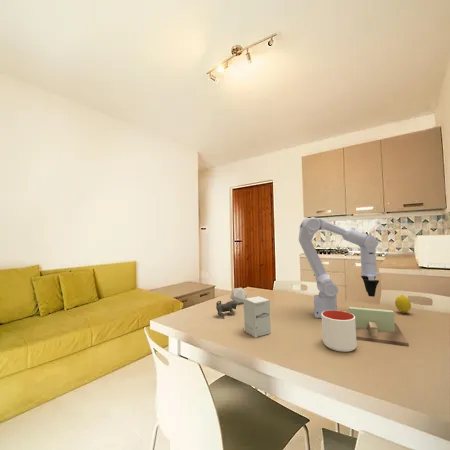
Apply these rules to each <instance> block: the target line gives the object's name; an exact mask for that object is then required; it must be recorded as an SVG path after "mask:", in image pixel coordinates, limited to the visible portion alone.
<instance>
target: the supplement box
mask: <svg viewBox="0 0 450 450" xmlns="http://www.w3.org/2000/svg"><path fill="white" fill-rule="evenodd" d="M270 305H271V303H270V299H268V298H265V297H262V296H259V295H258V296H253V297H246V299H244V303H243V319H244V325H243V326H244V332H245V331H246V332H245V333H247V332H248V333H249V334H248V333H247V334H248V335H250V334H251V335H252V336H251V335H250V336H251V337H253V336H254V337H253V338H255V337H256V338H258V336H259V337H263V336H264V335H265V336H266V335H269V334H271V333H272V331H271V329H272V327H271V326H272V325H271V308H270V307H271V306H270Z"/></svg>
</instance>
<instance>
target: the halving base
mask: <svg viewBox="0 0 450 450" xmlns="http://www.w3.org/2000/svg"><path fill="white" fill-rule="evenodd" d="M394 324H395V332H387V331H379V330H378V328H377V326H376V323H375V322H369V324H367V329H361V328H356V340H357V341H358V340H360V341H365V342H372V343H373V342H374V343H380V344H381V343H383V344H390V345H395V346H396V345H397V346H405V347H409V346H410V344H409V341H408V340H407V339H406V337H405V335H404V334H403V333H402V331H401V329H400V328H399V325H398V324H397V323H396V322H394Z"/></svg>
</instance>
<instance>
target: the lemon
mask: <svg viewBox="0 0 450 450" xmlns="http://www.w3.org/2000/svg"><path fill="white" fill-rule="evenodd" d="M394 305H395V307H396V309H397V310H398V311H399V312H401V313H402V314H406V313H408V312H409V311H410V310H411V309H412V304H411V301H410V299H409V298H408V296H406V295H403V294H401V295H398V296H397V297H396V298H395V302H394Z"/></svg>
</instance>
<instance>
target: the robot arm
mask: <svg viewBox="0 0 450 450" xmlns="http://www.w3.org/2000/svg"><path fill="white" fill-rule="evenodd" d="M320 230H322V231H324V230H325V231H328V232H331V233H333V234H337V235H338V236H341V237H342V239H343V240H344V241H346V242H349V243H352V244H354V245H357V246H358V247H359V248H360V249H359V250H360V267H361V271H360V274H361V275H360V278H361V279H362V281H363V283H364V287H365V291H366V293H367V295H368V297H375V296H376V290H377V287H378V284H379V282H380V280H378V279H376V278H377V277H376V276H380V275H381V273H380V272H378V271H377V270H378V269H377V254H376V253H377V251H376V248H377V246H378V245H379V241H378V239H377V238H376V237H375V236H374V235H371V234H370V235H368V234H367V233H366V232H364V231H362V232H361V231H360V230H356V227H347V228H343V227H341V226H339V225H336V224H334V223H332V222H329V221H327V220H324V219H321V218H317V217H309V218H305V219H303V220H302V222H301V223H300V225H299V234H298V242H299V244H300V246H301V249H302V251H303V253H304V255H305V257H306V259H307V261H308V263H309V266H310V268H311V270H312V273H313V274H314V276H315V281H316V287H317V290H318V291H319V292H318V294H314V295H313V312H314V314H313V315H314V318H318V319H319V318H320V319H322V316H321V313H322V312H324V311H328V310H338V302H337V301H338V300H337V295H338V292H339V288H338V285H337V284H336V283H335V282H333V280H332V279H331V277H330V276H329V274H328V273H327V270H326V268H325V267H324V263H322V262H323V261H322V260H321V258H320V256H319V253H318V252H317V250H316V248H315V246H314V243H313V241H312V240H313V238H314V236H315V234H316V233H317V232H318V231H320Z"/></svg>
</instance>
